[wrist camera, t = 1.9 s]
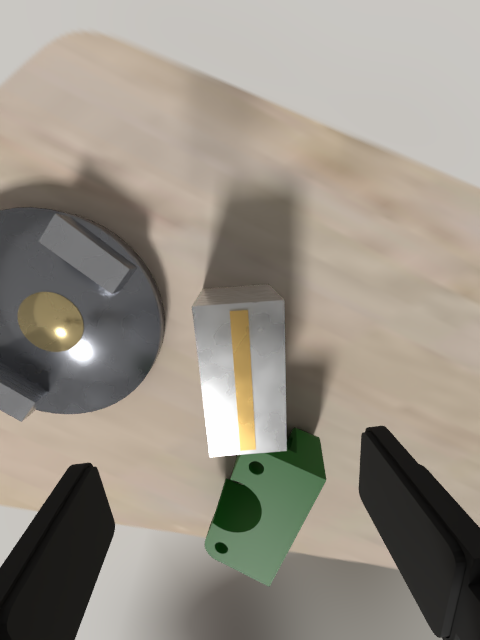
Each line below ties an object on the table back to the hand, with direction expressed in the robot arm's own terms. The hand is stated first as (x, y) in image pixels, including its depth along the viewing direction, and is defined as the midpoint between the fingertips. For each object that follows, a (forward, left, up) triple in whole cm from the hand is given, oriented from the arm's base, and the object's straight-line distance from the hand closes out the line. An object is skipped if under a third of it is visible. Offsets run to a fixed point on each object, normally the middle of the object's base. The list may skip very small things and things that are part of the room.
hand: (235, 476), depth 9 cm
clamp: (-1, +12, -13) cm, 18 cm away
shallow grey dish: (+12, -4, -12) cm, 18 cm away
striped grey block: (-1, 0, -13) cm, 12 cm away
